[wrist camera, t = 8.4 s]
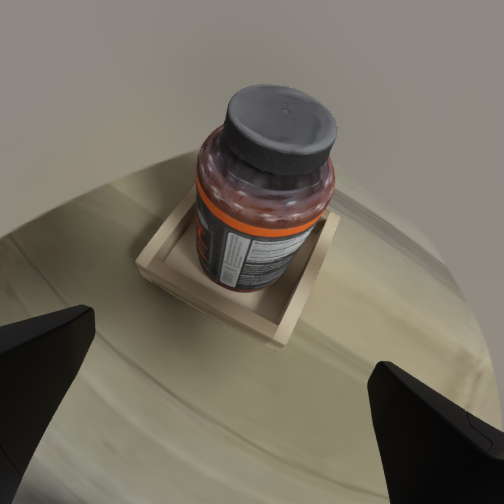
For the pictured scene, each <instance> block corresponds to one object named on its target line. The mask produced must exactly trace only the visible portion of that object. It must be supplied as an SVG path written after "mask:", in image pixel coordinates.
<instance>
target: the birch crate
mask: <svg viewBox="0 0 504 504" xmlns="http://www.w3.org/2000/svg"><path fill="white" fill-rule="evenodd" d="M339 220H340V216H338V215H336V214H334V213H332V212H331V211H329V210H327V209H325V210H324V212H323V214H322V215H321V217H320V219H319V221H318V222H317V223H316V225H315V227H314V228H313V230H312V231H311V233H310V234H309V236H308V237H307V238H306V240H305V242H304V243H303V244H302V246H301V247H300V249H299V250H298V252H297V254H296V255H295V257H294V258H293V260H292V261H291V262H290V264H289V265H288V267H287V268H286V270H285V271H284V272H283V274H282V275H281V276H280V277H279V279H278V280H277V281H275V282H274V283H273V284H272V285H270V286H268V287H267V288H265V289H262V290H260V291H256V292H250V293H239V292H234V291H230V290H228V289H225V288H223V287H221V286H219V285H217V284H216V283H215V282H213V281H212V280H211V279H210V278H209V277H208V275H207V274H206V273H205V272H204V270H203V268H202V266H201V264H200V262H199V258H198V253H197V248H196V183H195V185H194V186H193V187H192V188H191V189H190V191H189V192H188V193H187V194H186V195H185V197H184V198H183V199H182V200H181V202H180V203H179V204H178V205H177V207H176V208H175V209H174V210H173V212H172V213H171V214H170V215H169V217H168V218H167V219H166V220H165V222H164V223H163V224H162V226H161V227H160V228H159V230H158V231H157V232H156V233H155V235H154V236H153V237H152V239H151V240H150V241H149V243H148V244H147V245H146V247H145V248H144V249H143V251H142V252H141V254H140V255H139V256H138V258H137V259H136V260H135V262H136V265H137V267H138V269H139V271H140V273H141V275H142V277H143V278H144V279H146V280H148V281H149V282H151V283H152V284H154V285H156V286H157V287H159V288H161V289H162V290H164V291H166V292H167V293H169V294H171V295H172V296H174V297H176V298H177V299H179V300H181V301H183V302H184V303H186V304H188V305H189V306H191V307H193V308H195V309H196V310H198V311H200V312H202V313H203V314H205V315H207V316H209V317H211V318H212V319H214V320H216V321H218V322H220V323H222V324H223V325H225V326H227V327H229V328H231V329H233V330H234V331H236V332H238V333H240V334H242V335H244V336H246V337H248V338H250V339H252V340H254V341H255V342H257V343H259V344H261V345H263V346H265V347H267V348H269V349H271V350H273V351H277V350H279V349H280V348H282V347H284V346H285V345H286V344H287V342H288V340H289V338H290V335H291V333H292V331H293V329H294V327H295V325H296V322H297V320H298V318H299V316H300V314H301V311H302V309H303V307H304V305H305V302H306V300H307V298H308V296H309V293H310V291H311V289H312V286H313V284H314V282H315V279H316V277H317V275H318V272H319V270H320V268H321V265H322V263H323V260H324V258H325V255H326V253H327V251H328V248H329V246H330V243H331V241H332V238H333V236H334V233H335V230H336V228H337V225H338V223H339Z"/></svg>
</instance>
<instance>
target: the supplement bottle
mask: <svg viewBox="0 0 504 504" xmlns="http://www.w3.org/2000/svg"><path fill="white" fill-rule="evenodd" d="M336 137H337V125H336V121H335V118H334V117H333V116H332V114H331V113H330V111H329V110H328V109H327V108H326V107H325V106H324V105H323V104H321V102H319V101H318V100H316V99H315V98H313V97H311V96H309V95H308V94H306V93H304V92H302V91H299V90H297V89H294V88H290V87H286V86H280V85H271V84H262V85H255V86H250V87H246V88H244V89H242V90H240V91H239V92H237V93H236V94H235V95H234V96H233V97H232V98H231V100H230V102H229V104H228V109H227V114H226V119H225V121H224V124H223V125H221V126H220V127H219V128H217V129H216V130H214V131H213V132H212V133H211V134H210V135H209V136H208V138H207V139H206V140H205V141H204V143H203V145H202V146H201V150H200V153H199V155H198V162H197V181H196V248H197V253H198V258H199V262H200V264H201V266H202V268H203V270H204V272H205V273H206V274H207V275H208V277H209V278H210V279H211V280H212V281H213V282H215V283H216V284H217V285H219V286H221V287H223V288H225V289H228V290H230V291H234V292H239V293H250V292H256V291H260V290H262V289H265V288H267V287H268V286H270V285H272V284H273V283H274V282H275V281H277V280H278V279H279V277H280V276H281V275H282V274H283V272H284V271H285V270H286V268H287V267H288V265H289V264H290V262H291V261H292V260H293V258H294V257H295V255H296V254H297V252H298V250H299V249H300V247H301V246H302V244H303V243H304V242H305V240H306V238H307V237H308V236H309V234H310V233H311V231H312V230H313V228H314V227H315V225H316V223H317V222H318V221H319V219H320V217H321V215H322V214H323V212H324V210H325V209H326V207H327V206H328V204H329V202H330V200H331V197H332V195H333V191H334V187H335V173H334V167H333V164H332V161H331V159H330V156H329V153H330V150H331V148H332V146H333V144H334V142H335V140H336Z"/></svg>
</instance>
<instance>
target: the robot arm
mask: <svg viewBox="0 0 504 504" xmlns="http://www.w3.org/2000/svg"><path fill="white" fill-rule="evenodd" d="M94 336H95V312H94V309H93V308H92V307H89V306H86V305H78V306H74V307H70V308H67V309H63V310H59V311H56V312H52V313H49V314H45V315H41V316H38V317H34V318H30V319H27V320H23V321H19V322H16V323H12V324H8V325H5V326H1V327H0V504H12V501H13V499H14V496H15V494H16V492H17V489H18V487H19V485H20V482H21V480H22V477H23V475H24V473H25V471H26V469H27V467H28V464H29V462H30V460H31V458H32V456H33V454H34V452H35V450H36V448H37V446H38V444H39V442H40V440H41V438H42V436H43V434H44V432H45V430H46V428H47V427H48V425H49V423H50V421H51V419H52V417H53V415H54V414H55V412H56V410H57V408H58V406H59V405H60V403H61V401H62V399H63V398H64V396H65V394H66V392H67V391H68V389H69V387H70V385H71V384H72V382H73V380H74V379H75V377H76V375H77V373H78V371H79V369H80V367H81V365H82V362H83V360H84V358H85V356H86V354H87V352H88V349H89V347H90V345H91V343H92V341H93V339H94ZM367 389H368V395H369V401H370V408H371V415H372V422H373V427H374V431H375V435H376V439H377V443H378V448H379V452H380V456H381V461H382V465H383V470H384V474H385V479H386V484H387V489H388V494H389V499H390V504H504V432H502V431H500V430H498V429H496V428H494V427H493V426H491V425H489V424H487V423H485V422H484V421H482V420H480V419H479V418H477V417H475V416H474V415H472V414H471V413H469V412H467V411H465V410H464V409H463V408H461V407H460V406H458V405H456V404H455V403H453V402H452V401H450V400H449V399H447V398H446V397H444V396H442V395H441V394H439V393H438V392H436V391H435V390H433V389H432V388H430V387H429V386H427V385H425V384H424V383H422V382H421V381H419V380H418V379H416V378H415V377H413V376H412V375H410V374H409V373H407V372H405V371H404V370H402V369H401V368H399V367H398V366H396V365H395V364H393V363H392V362H389V361H380V362H378V363H377V364H376V366H375V368H374V370H373V372H372V374H371V376H370V378H369V380H368V383H367Z"/></svg>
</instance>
